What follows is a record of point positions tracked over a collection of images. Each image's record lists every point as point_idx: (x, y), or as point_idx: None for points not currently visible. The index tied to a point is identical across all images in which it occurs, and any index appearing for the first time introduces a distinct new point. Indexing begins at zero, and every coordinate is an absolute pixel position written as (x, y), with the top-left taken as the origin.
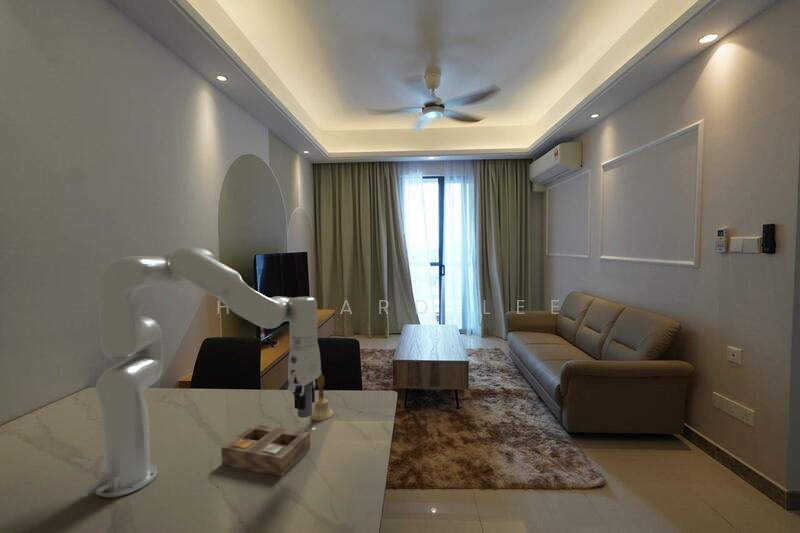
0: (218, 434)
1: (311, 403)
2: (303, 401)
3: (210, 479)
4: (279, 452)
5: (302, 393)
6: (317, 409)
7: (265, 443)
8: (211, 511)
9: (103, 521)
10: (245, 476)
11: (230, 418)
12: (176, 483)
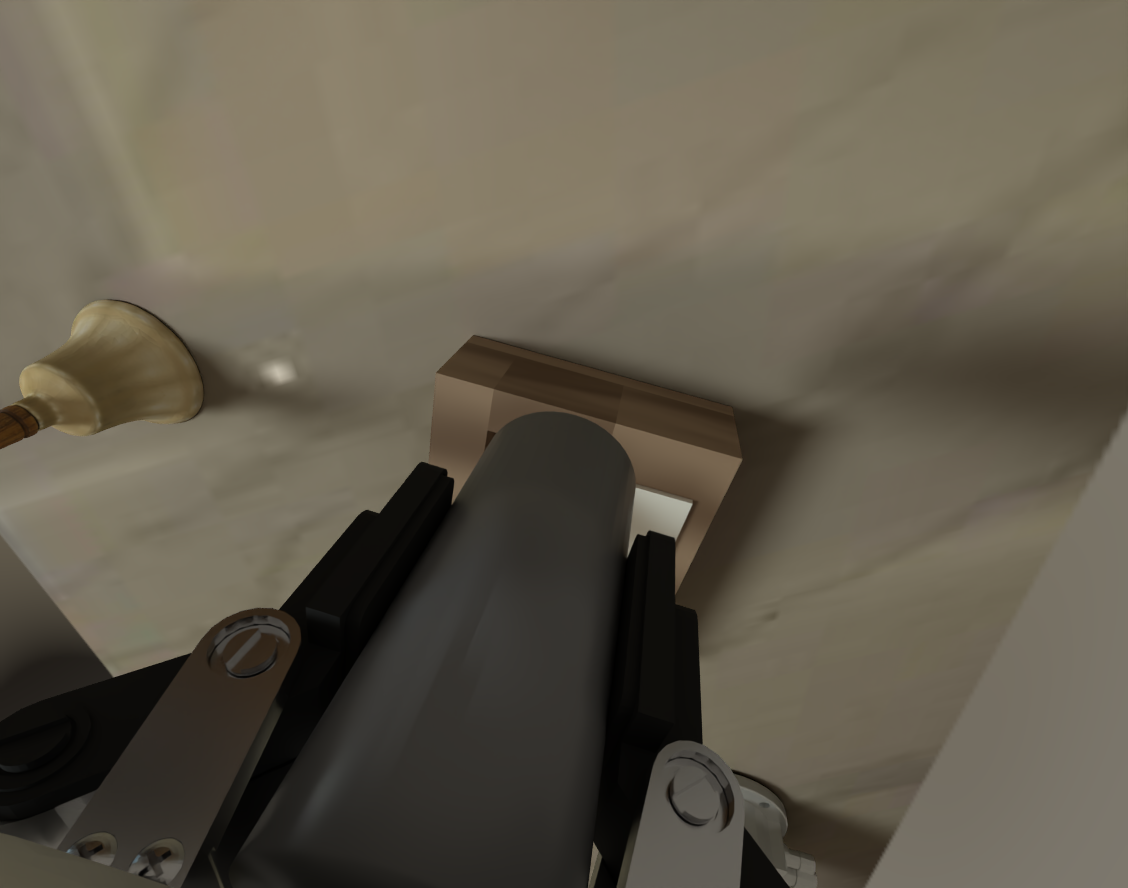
0: None
1: (536, 493)
2: (669, 634)
3: (720, 647)
4: (676, 484)
5: (677, 792)
6: (134, 403)
7: None
8: (935, 593)
9: (892, 799)
10: (712, 551)
11: None
12: (732, 718)
